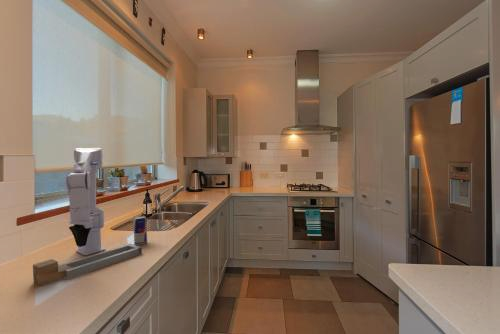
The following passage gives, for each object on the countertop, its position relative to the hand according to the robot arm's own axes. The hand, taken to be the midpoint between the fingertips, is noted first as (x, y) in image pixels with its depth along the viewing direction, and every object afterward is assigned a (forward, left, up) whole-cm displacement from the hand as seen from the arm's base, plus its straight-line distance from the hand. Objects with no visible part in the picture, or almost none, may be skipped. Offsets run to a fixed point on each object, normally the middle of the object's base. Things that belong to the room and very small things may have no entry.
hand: (81, 245), depth 89 cm
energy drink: (-8, +27, -9) cm, 29 cm away
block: (0, -9, -8) cm, 12 cm away
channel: (0, +6, -8) cm, 10 cm away
